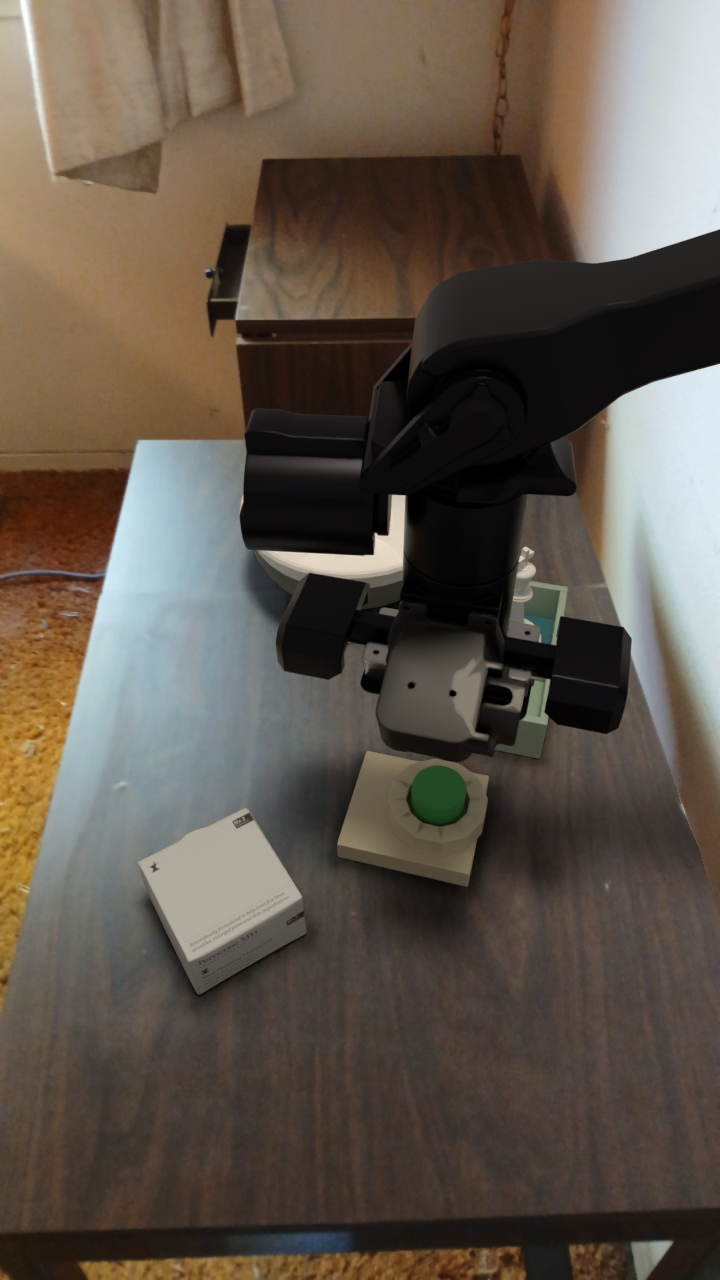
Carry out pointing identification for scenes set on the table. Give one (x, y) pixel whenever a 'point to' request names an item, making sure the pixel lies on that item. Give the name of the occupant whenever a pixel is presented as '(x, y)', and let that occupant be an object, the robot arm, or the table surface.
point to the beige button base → (410, 822)
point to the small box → (223, 898)
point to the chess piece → (523, 587)
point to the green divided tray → (533, 726)
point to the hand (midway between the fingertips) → (443, 740)
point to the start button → (438, 794)
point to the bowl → (348, 563)
